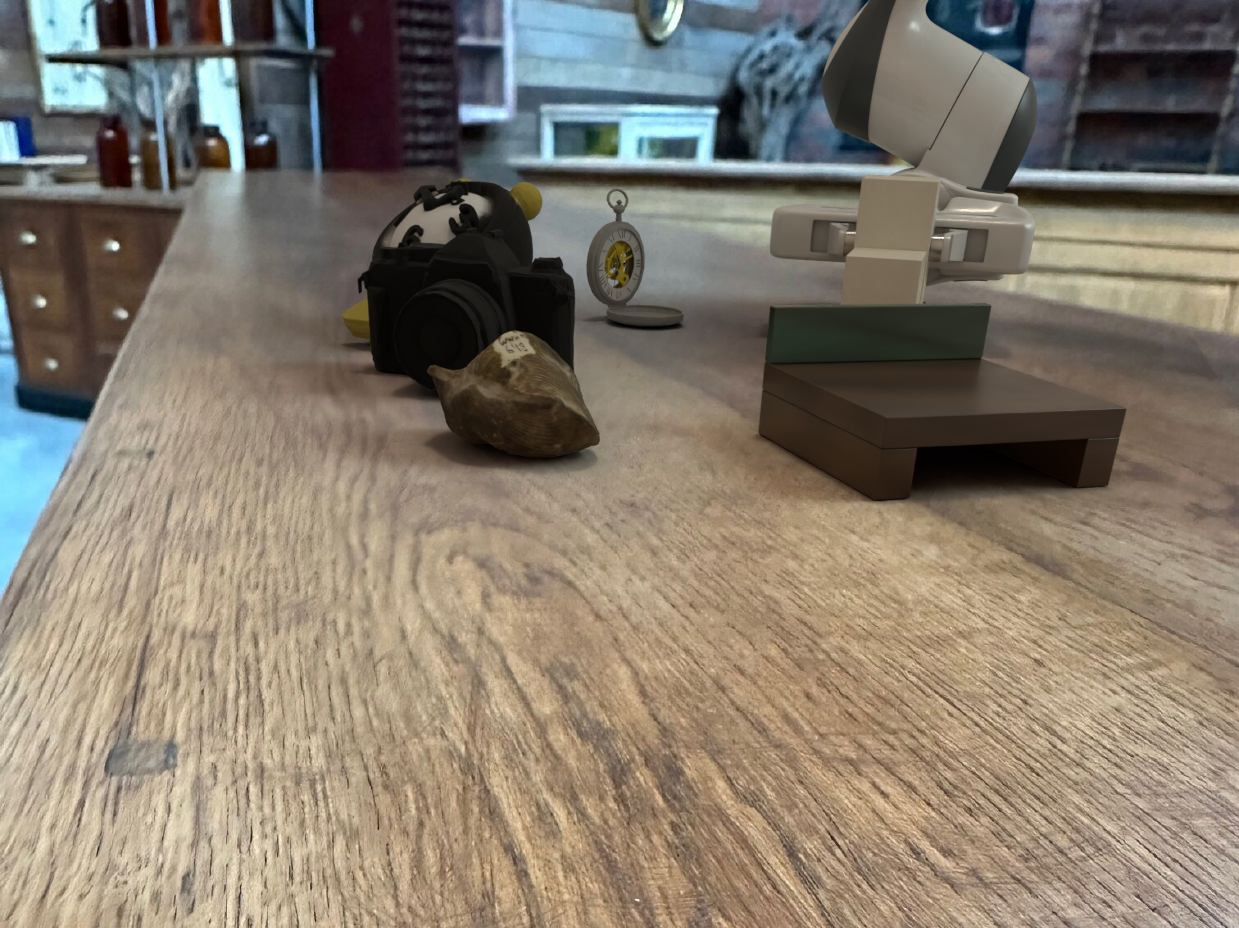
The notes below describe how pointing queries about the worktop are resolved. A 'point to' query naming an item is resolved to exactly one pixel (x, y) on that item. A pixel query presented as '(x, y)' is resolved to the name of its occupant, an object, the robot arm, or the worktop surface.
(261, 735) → the worktop surface
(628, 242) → the pocket watch
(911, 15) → the robot arm
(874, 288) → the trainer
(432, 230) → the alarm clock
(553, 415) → the fossilized seashell
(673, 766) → the worktop surface
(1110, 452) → the low wooden bench
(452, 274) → the film camera
